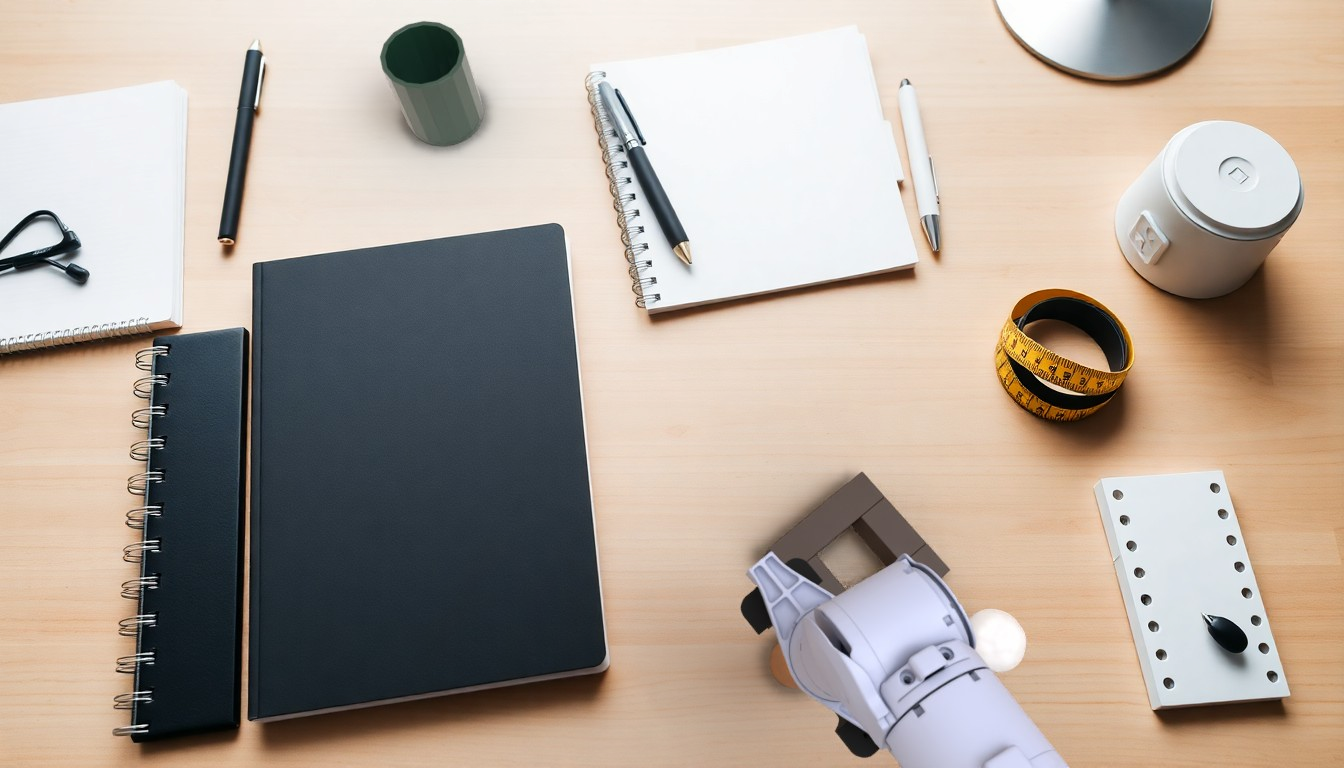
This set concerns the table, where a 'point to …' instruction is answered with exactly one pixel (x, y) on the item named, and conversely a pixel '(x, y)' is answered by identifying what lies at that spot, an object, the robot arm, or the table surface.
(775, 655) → the orange cylinder
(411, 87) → the coffee cup
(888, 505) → the pod dock
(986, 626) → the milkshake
